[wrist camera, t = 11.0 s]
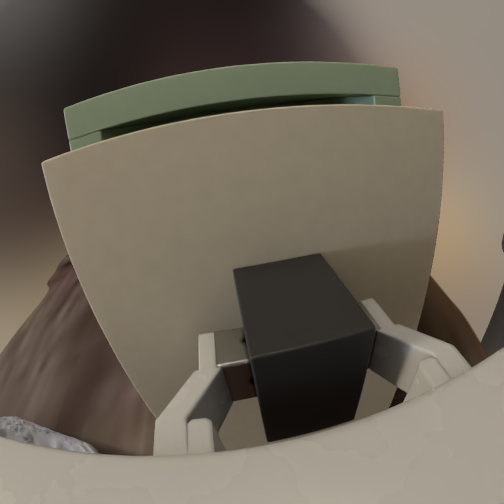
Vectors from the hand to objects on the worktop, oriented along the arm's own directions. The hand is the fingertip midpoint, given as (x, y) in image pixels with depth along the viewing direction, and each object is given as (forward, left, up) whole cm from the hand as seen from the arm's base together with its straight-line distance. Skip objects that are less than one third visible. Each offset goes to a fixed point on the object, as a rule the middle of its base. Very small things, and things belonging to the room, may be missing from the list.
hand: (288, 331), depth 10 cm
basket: (0, -6, -11) cm, 13 cm away
